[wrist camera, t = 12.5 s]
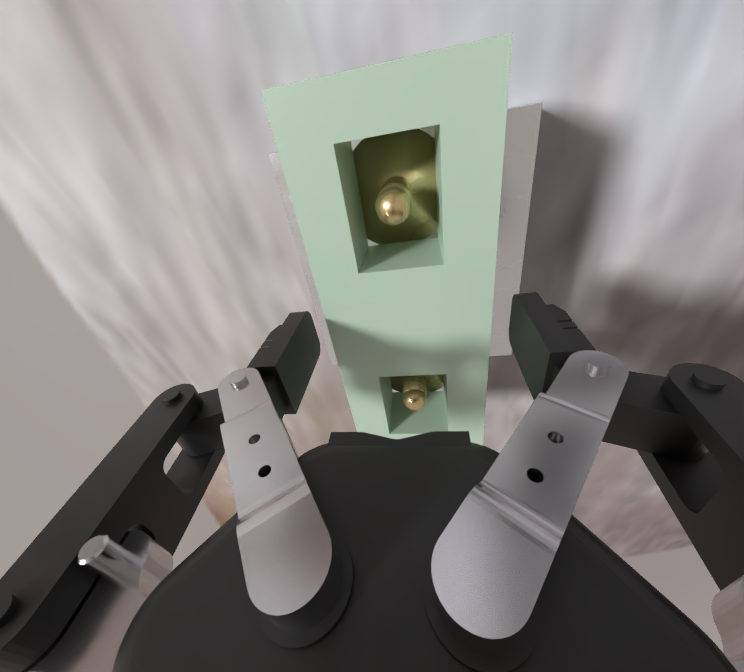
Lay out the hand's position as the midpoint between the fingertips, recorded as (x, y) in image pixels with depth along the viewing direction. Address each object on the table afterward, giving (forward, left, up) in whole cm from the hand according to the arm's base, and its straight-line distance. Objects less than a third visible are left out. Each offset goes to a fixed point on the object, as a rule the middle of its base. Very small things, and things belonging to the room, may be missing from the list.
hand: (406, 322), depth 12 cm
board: (0, 0, -3) cm, 3 cm away
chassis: (0, 0, -7) cm, 7 cm away
